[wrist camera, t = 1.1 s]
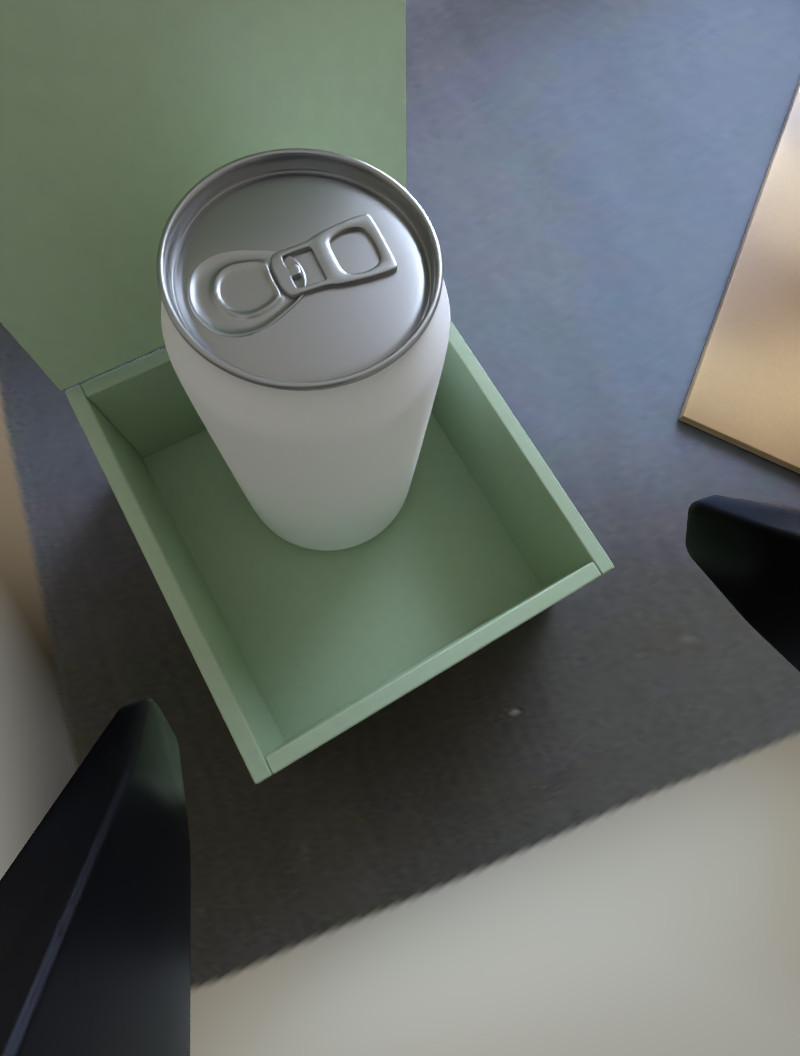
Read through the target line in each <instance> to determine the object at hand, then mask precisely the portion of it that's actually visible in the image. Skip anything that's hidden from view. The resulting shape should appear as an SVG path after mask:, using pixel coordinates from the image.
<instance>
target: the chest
mask: <svg viewBox="0 0 800 1056" xmlns="http://www.w3.org/2000/svg"><path fill="white" fill-rule="evenodd" d="M65 394H66V396H67V398H68V400H69V402H70V404H71V406H72V408H73V410H74V412H75V414H76V416H77V418H78V420H79V423H80V425H81V427H82V429H83V431H84V433H85V435H86V437H87V439H88V441H89V443H90V445H91V447H92V449H93V451H94V453H95V455H96V458H97V460H98V462H99V464H100V466H101V468H102V470H103V472H104V474H105V476H106V478H107V480H108V482H109V484H110V486H111V488H112V490H113V493H114V495H115V497H116V499H117V501H118V503H119V505H120V507H121V509H122V511H123V513H124V515H125V517H126V519H127V521H128V523H129V525H130V528H131V530H132V532H133V534H134V536H135V538H136V540H137V542H138V544H139V546H140V548H141V550H142V552H143V554H144V556H145V558H146V561H147V563H148V565H149V567H150V569H151V571H152V573H153V575H154V577H155V579H156V581H157V583H158V585H159V587H160V589H161V591H162V593H163V596H164V598H165V600H166V602H167V604H168V606H169V608H170V610H171V612H172V614H173V616H174V618H175V620H176V622H177V624H178V626H179V628H180V631H181V633H182V635H183V637H184V639H185V641H186V643H187V645H188V647H189V649H190V651H191V653H192V655H193V657H194V659H195V661H196V663H197V666H198V668H199V670H200V672H201V674H202V676H203V678H204V680H205V682H206V684H207V686H208V688H209V690H210V692H211V694H212V696H213V698H214V701H215V703H216V705H217V707H218V709H219V711H220V713H221V715H222V717H223V719H224V721H225V723H226V725H227V727H228V729H229V731H230V733H231V736H232V738H233V740H234V742H235V744H236V746H237V748H238V750H239V752H240V754H241V756H242V758H243V760H244V762H245V764H246V766H247V768H248V771H249V773H250V775H251V777H252V779H253V781H254V783H255V784H259V783H260V782H262V781H264V780H265V779H267V778H269V777H270V776H271V775H272V774H275V773H277V772H278V771H280V770H282V769H283V768H285V767H287V766H288V765H290V764H292V763H293V762H295V761H297V760H298V759H300V758H302V757H303V756H305V755H306V754H308V753H310V752H311V751H313V750H315V749H316V748H318V747H320V746H321V745H323V744H325V743H326V742H328V741H330V740H331V739H333V738H335V737H336V736H338V735H339V734H341V733H343V732H344V731H346V730H348V729H349V728H351V727H353V726H354V725H356V724H358V723H359V722H361V721H363V720H364V719H366V718H368V717H369V716H371V715H372V714H374V713H376V712H377V711H379V710H381V709H382V708H384V707H386V706H387V705H389V704H391V703H392V702H394V701H396V700H397V699H399V698H401V697H402V696H404V695H405V694H407V693H409V692H410V691H412V690H414V689H415V688H417V687H419V686H420V685H422V684H424V683H425V682H427V681H429V680H430V679H432V678H434V677H435V676H437V675H438V674H440V673H442V672H443V671H445V670H447V669H448V668H450V667H452V666H453V665H455V664H457V663H458V662H460V661H462V660H463V659H465V658H466V657H468V656H470V655H471V654H473V653H475V652H476V651H478V650H480V649H481V648H483V647H485V646H486V645H488V644H490V643H491V642H493V641H495V640H496V639H498V638H499V637H501V636H503V635H504V634H506V633H508V632H509V631H511V630H513V629H514V628H516V627H518V626H519V625H521V624H523V623H524V622H526V621H528V620H529V619H531V618H532V617H534V616H536V615H537V614H539V613H541V612H542V611H544V610H546V609H547V608H549V607H551V606H552V605H554V604H556V603H557V602H559V601H561V600H562V599H564V598H565V597H567V596H569V595H570V594H572V593H574V592H575V591H577V590H579V589H580V588H582V587H584V586H585V585H587V584H589V583H590V582H592V581H594V580H595V579H597V578H598V577H600V576H601V575H603V574H605V573H607V572H608V571H610V570H612V569H613V568H614V565H613V563H612V562H611V560H610V559H609V557H608V556H607V554H606V553H605V551H604V550H603V548H602V547H601V545H600V544H599V542H598V541H597V539H596V538H595V536H594V535H593V533H592V532H591V530H590V529H589V527H588V526H587V524H586V523H585V521H584V520H583V518H582V517H581V515H580V514H579V512H578V511H577V509H576V508H575V506H574V505H573V503H572V502H571V500H570V499H569V497H568V496H567V494H566V493H565V491H564V490H563V488H562V487H561V485H560V484H559V482H558V481H557V479H556V478H555V476H554V475H553V473H552V472H551V470H550V469H549V467H548V466H547V464H546V463H545V461H544V460H543V458H542V457H541V455H540V454H539V452H538V451H537V449H536V448H535V446H534V445H533V443H532V442H531V440H530V439H529V437H528V436H527V434H526V433H525V431H524V430H523V428H522V427H521V425H520V424H519V422H518V421H517V419H516V418H515V416H514V415H513V413H512V412H511V410H510V409H509V407H508V406H507V404H506V403H505V401H504V400H503V398H502V397H501V395H500V394H499V392H498V391H497V389H496V388H495V386H494V385H493V383H492V382H491V380H490V379H489V377H488V376H487V374H486V373H485V371H484V370H483V368H482V367H481V365H480V364H479V362H478V361H477V359H476V358H475V356H474V355H473V353H472V352H471V350H470V349H469V347H468V346H467V344H466V343H465V341H464V340H463V338H462V337H461V335H460V334H459V332H458V331H457V329H456V328H455V326H454V325H453V323H452V322H451V320H450V331H449V341H448V346H447V351H446V356H445V360H444V365H443V368H442V372H441V376H440V380H439V384H438V388H437V391H436V395H435V399H434V402H433V406H432V410H431V414H430V417H429V421H428V424H427V428H426V432H425V435H424V439H423V443H422V446H421V450H420V453H419V457H418V460H417V464H416V467H415V471H414V474H413V478H412V481H411V485H410V488H409V491H408V494H407V497H406V499H405V502H404V504H403V506H402V508H401V509H400V511H399V513H398V514H397V516H396V517H395V518H394V520H393V521H392V522H391V523H390V524H389V525H388V526H387V527H386V528H385V529H384V530H383V531H382V532H381V533H379V534H378V535H376V536H375V537H373V538H372V539H370V540H368V541H366V542H364V543H362V544H360V545H357V546H354V547H351V548H347V549H342V550H334V551H321V550H312V549H307V548H303V547H300V546H297V545H294V544H292V543H290V542H288V541H286V540H284V539H282V538H281V537H279V536H278V535H276V534H275V533H274V532H273V531H271V530H270V529H269V528H268V527H267V526H266V525H265V523H264V522H263V521H262V520H261V519H260V517H259V516H258V515H257V513H256V512H255V510H254V509H253V507H252V506H251V504H250V502H249V501H248V499H247V498H246V496H245V494H244V493H243V491H242V489H241V487H240V486H239V484H238V482H237V481H236V479H235V477H234V476H233V474H232V472H231V470H230V469H229V467H228V465H227V464H226V462H225V460H224V458H223V457H222V455H221V453H220V451H219V450H218V448H217V446H216V444H215V443H214V441H213V439H212V438H211V436H210V434H209V432H208V431H207V429H206V427H205V425H204V423H203V422H202V420H201V418H200V416H199V415H198V413H197V411H196V409H195V408H194V406H193V404H192V402H191V400H190V399H189V397H188V395H187V393H186V391H185V390H184V388H183V386H182V384H181V382H180V380H179V378H178V376H177V374H176V372H175V370H174V368H173V366H172V363H171V361H170V358H169V355H168V352H167V349H166V348H164V349H161V350H159V351H157V352H154V353H152V354H150V355H147V356H145V357H143V358H140V359H138V360H136V361H133V362H131V363H129V364H126V365H124V366H122V367H119V368H117V369H115V370H112V371H110V372H108V373H105V374H103V375H101V376H98V377H96V378H94V379H92V380H89V381H87V382H85V383H82V384H81V386H80V385H78V386H75V387H73V388H71V389H68V390H66V391H65Z"/></svg>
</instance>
